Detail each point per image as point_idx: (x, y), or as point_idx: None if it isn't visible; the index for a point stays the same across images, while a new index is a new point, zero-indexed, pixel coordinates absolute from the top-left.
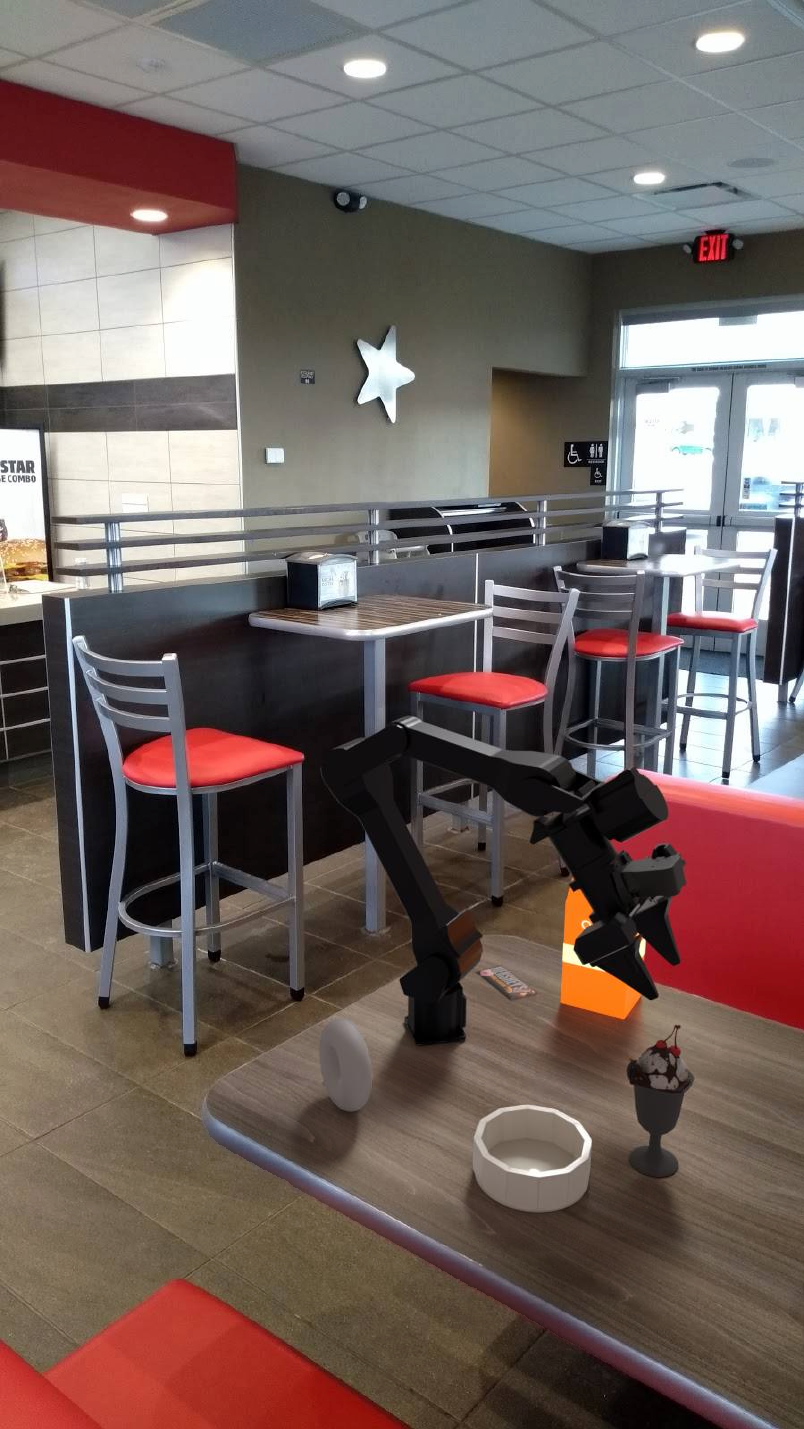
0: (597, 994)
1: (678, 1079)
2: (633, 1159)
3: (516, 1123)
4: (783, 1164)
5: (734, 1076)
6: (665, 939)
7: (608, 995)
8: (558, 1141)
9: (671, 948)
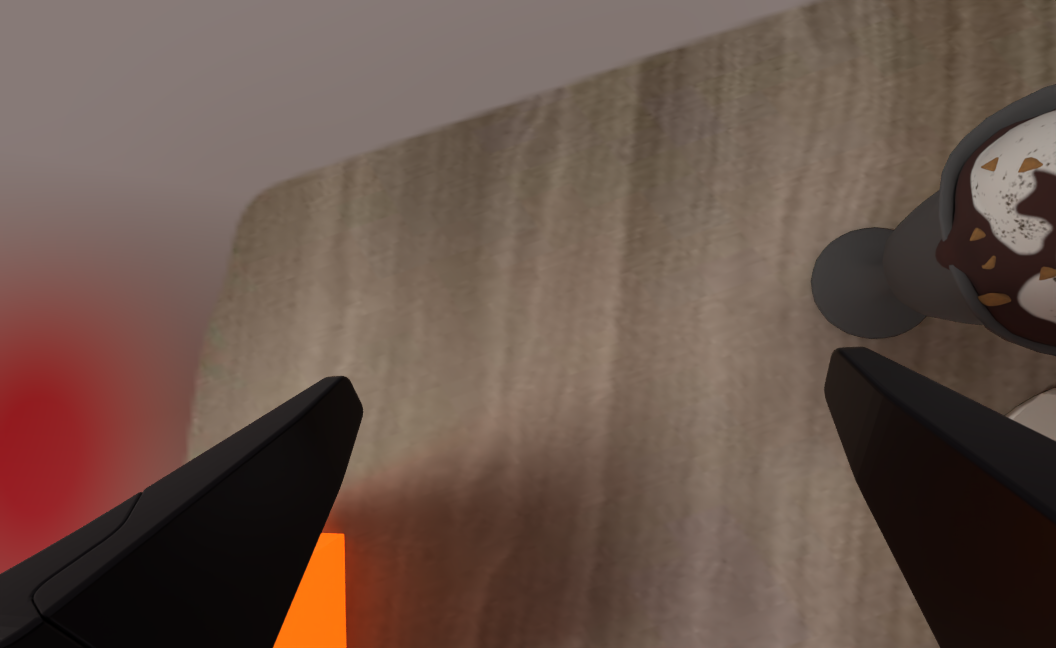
0: (313, 632)
1: None
2: (908, 321)
3: None
4: (701, 58)
5: (441, 246)
6: (243, 512)
7: (310, 604)
8: None
9: (293, 446)
